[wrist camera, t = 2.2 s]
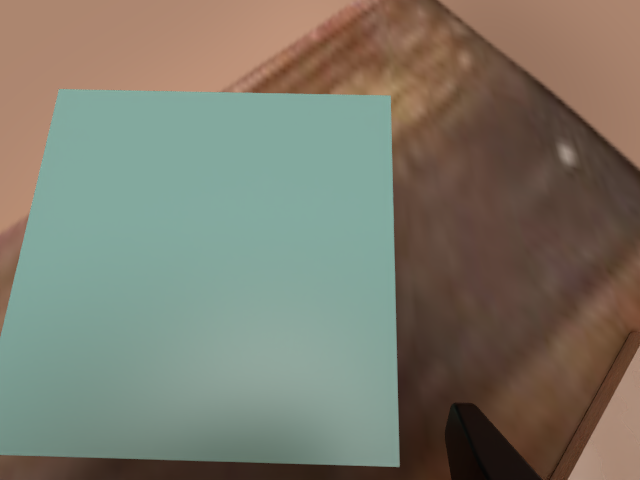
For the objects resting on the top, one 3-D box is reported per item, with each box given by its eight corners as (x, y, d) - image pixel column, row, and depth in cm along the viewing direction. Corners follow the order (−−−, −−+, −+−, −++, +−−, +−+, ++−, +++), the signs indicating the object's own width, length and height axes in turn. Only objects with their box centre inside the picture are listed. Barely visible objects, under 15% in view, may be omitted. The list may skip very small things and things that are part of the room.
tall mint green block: (348, 400, 17) (399, 467, 6) (203, 395, 17) (-27, 453, 6) (349, 258, 19) (390, 95, 8) (217, 255, 19) (59, 89, 8)
